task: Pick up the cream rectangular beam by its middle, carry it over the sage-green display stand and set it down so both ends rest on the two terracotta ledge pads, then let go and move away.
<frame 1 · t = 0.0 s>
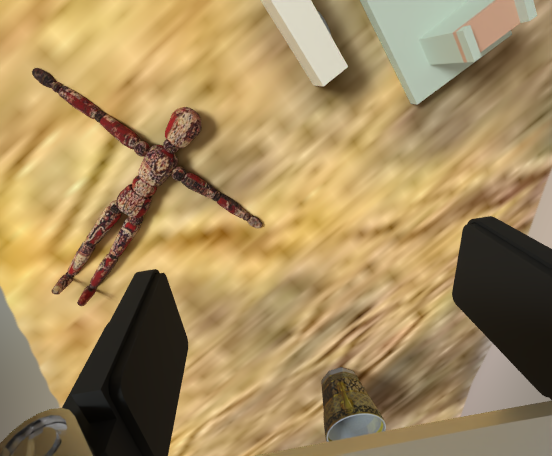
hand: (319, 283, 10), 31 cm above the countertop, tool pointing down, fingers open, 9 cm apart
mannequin: (132, 203, 41), on the countertop
cream rectangular beam: (277, 0, 32), on the countertop
ceramic cup: (336, 373, 59), on the countertop
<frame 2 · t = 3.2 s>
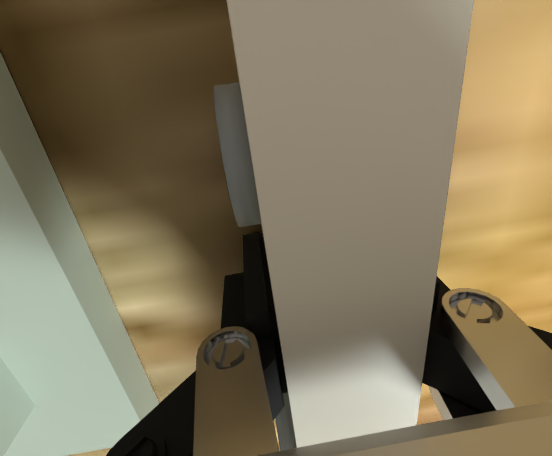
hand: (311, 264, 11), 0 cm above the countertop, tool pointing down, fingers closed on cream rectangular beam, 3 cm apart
cream rectangular beam: (309, 258, 11), on the countertop, touching gripper
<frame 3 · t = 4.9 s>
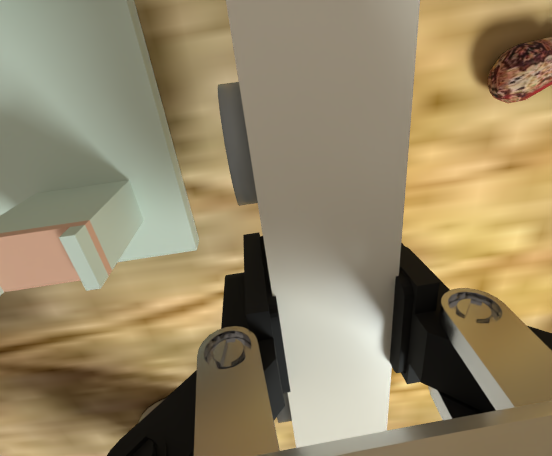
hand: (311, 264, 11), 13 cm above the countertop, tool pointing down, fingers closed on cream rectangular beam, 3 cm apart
cream rectangular beam: (302, 240, 12), point 11 cm above the countertop, touching gripper
display stand: (53, 84, 19), on the countertop
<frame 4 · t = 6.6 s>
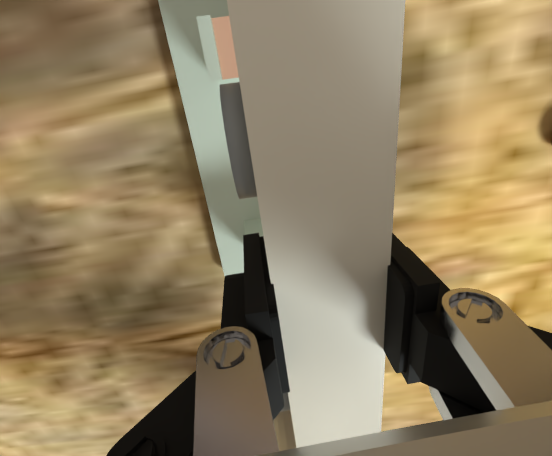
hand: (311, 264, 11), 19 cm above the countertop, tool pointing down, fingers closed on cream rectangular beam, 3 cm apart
cream rectangular beam: (300, 235, 13), point 17 cm above the countertop, touching gripper
display stand: (265, 148, 28), on the countertop
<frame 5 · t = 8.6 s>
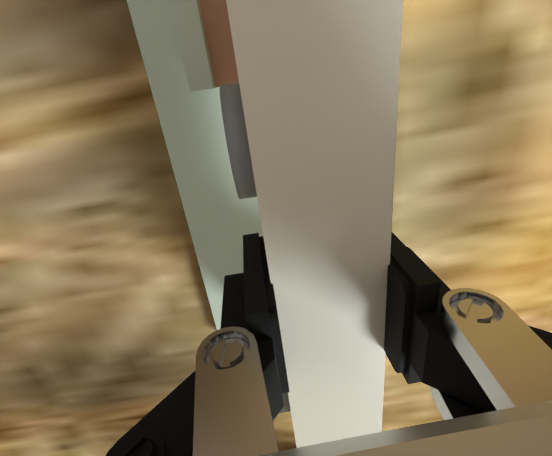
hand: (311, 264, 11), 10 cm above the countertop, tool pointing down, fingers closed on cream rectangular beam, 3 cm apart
cream rectangular beam: (300, 236, 13), point 8 cm above the countertop, touching display stand, gripper
display stand: (279, 180, 20), on the countertop
when the fingers open (10 cm above the countertop, at t = 9.8 s): cream rectangular beam stays where it is, resting on display stand.
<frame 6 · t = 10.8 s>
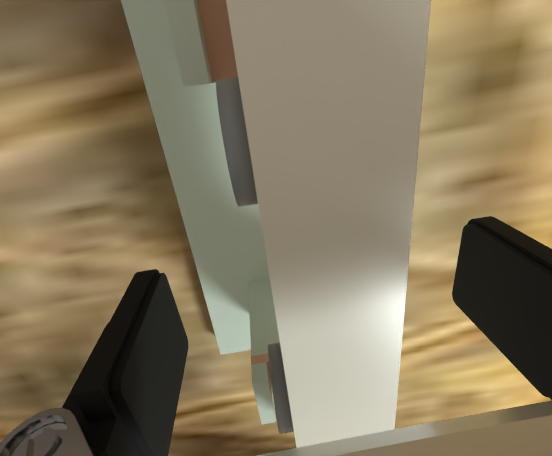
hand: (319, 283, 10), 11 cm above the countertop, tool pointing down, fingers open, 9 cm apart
cream rectangular beam: (304, 243, 12), point 8 cm above the countertop, touching display stand
display stand: (280, 181, 19), on the countertop
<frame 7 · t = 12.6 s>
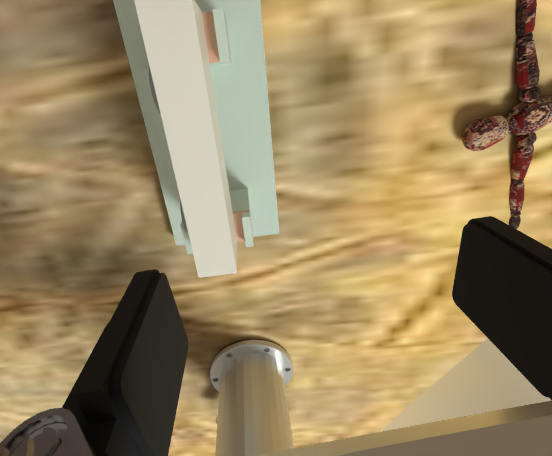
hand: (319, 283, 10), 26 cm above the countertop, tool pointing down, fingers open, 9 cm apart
cream rectangular beam: (203, 147, 25), point 8 cm above the countertop, touching display stand
display stand: (211, 131, 32), on the countertop
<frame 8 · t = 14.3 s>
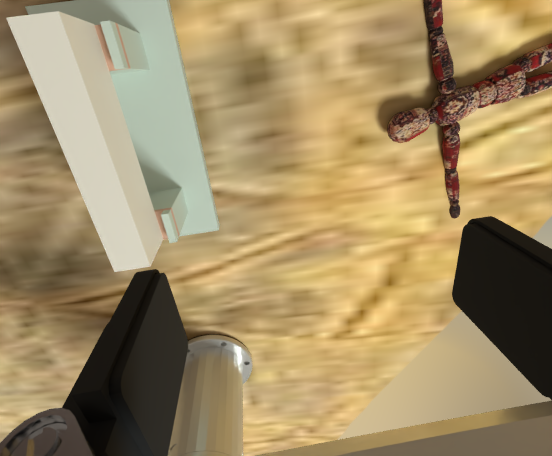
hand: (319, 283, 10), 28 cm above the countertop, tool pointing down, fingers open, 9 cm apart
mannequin: (502, 82, 36), on the countertop
cream rectangular beam: (116, 150, 27), point 8 cm above the countertop, touching display stand
display stand: (142, 135, 34), on the countertop
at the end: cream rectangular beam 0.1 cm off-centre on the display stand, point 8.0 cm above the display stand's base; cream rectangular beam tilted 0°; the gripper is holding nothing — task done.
